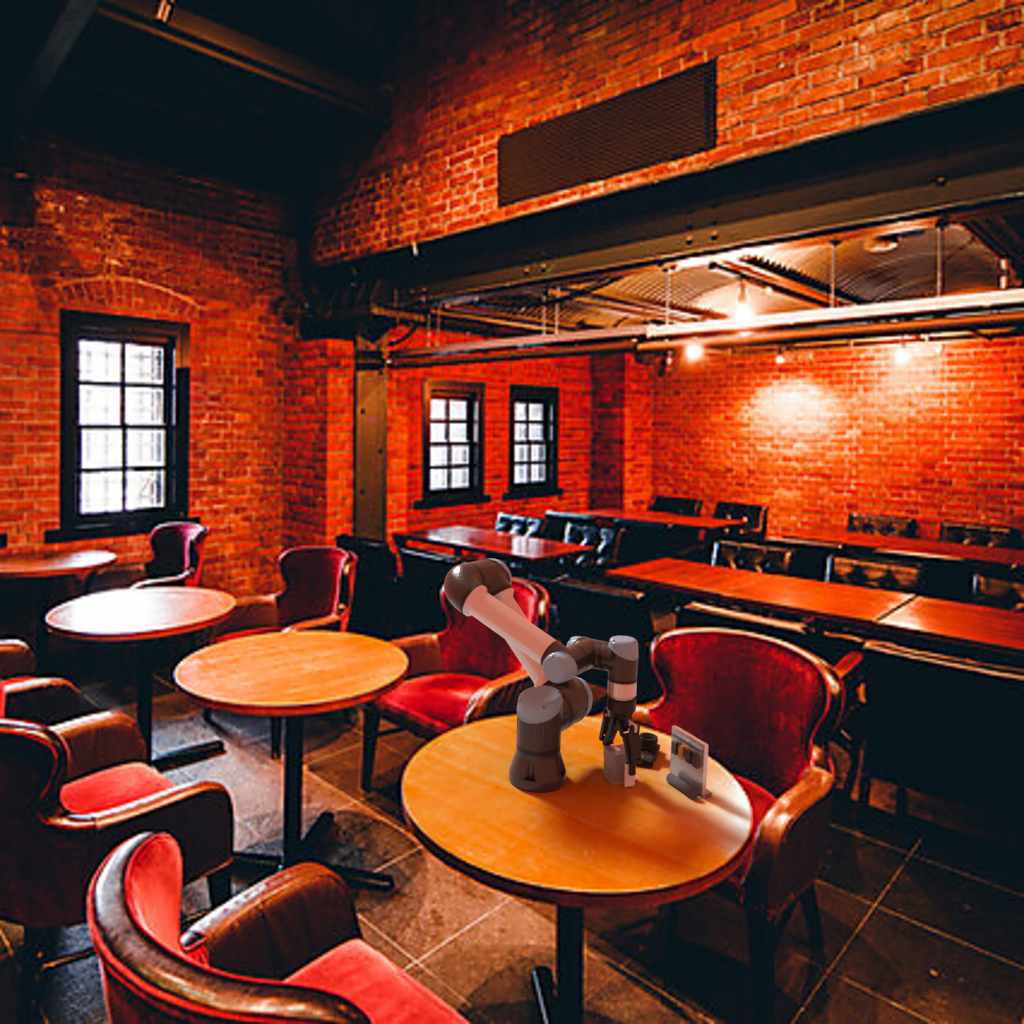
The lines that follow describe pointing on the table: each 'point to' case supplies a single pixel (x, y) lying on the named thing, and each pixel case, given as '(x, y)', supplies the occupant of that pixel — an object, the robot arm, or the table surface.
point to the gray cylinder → (682, 786)
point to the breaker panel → (689, 760)
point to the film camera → (648, 749)
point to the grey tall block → (614, 763)
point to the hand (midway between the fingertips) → (618, 777)
